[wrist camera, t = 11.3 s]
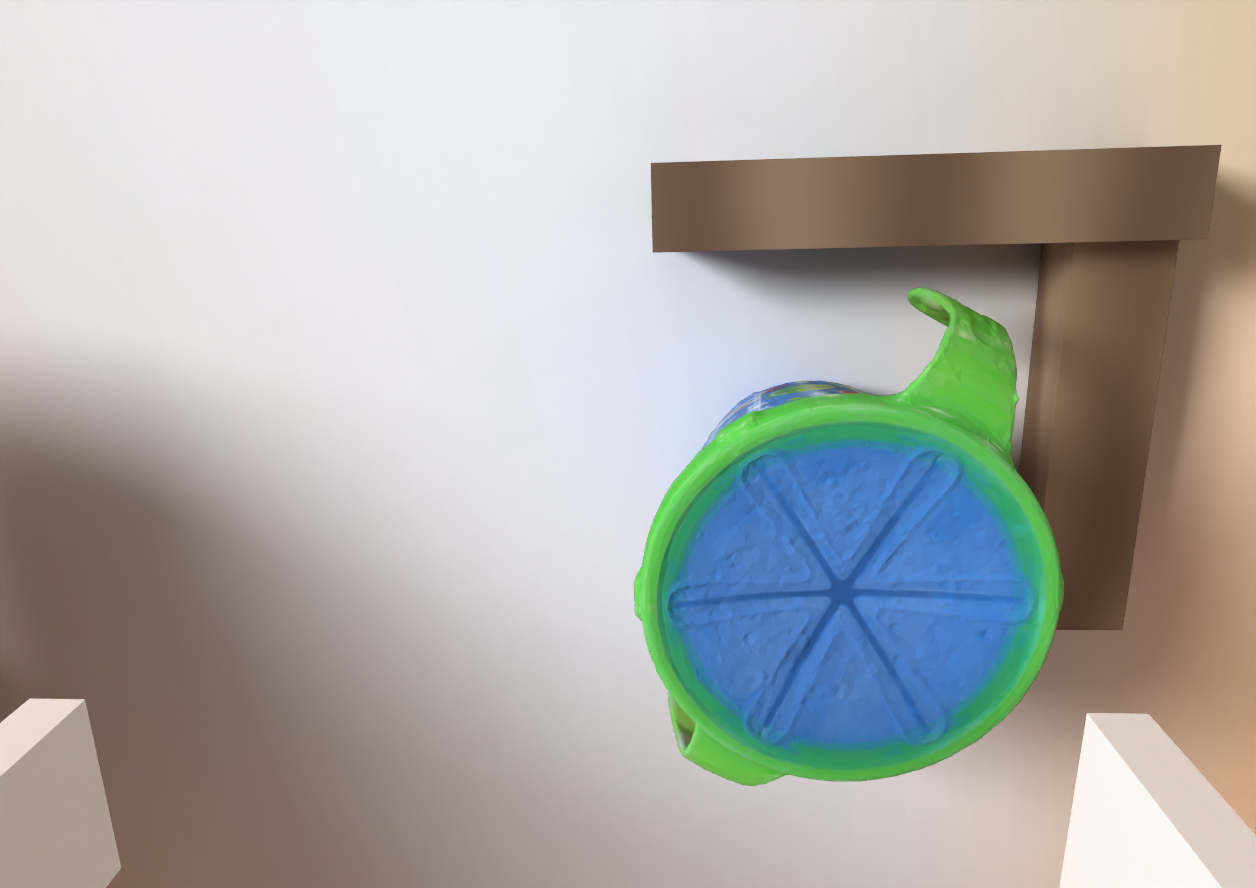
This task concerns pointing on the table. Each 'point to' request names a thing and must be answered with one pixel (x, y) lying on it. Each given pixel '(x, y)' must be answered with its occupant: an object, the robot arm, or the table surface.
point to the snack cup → (853, 572)
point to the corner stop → (1065, 309)
